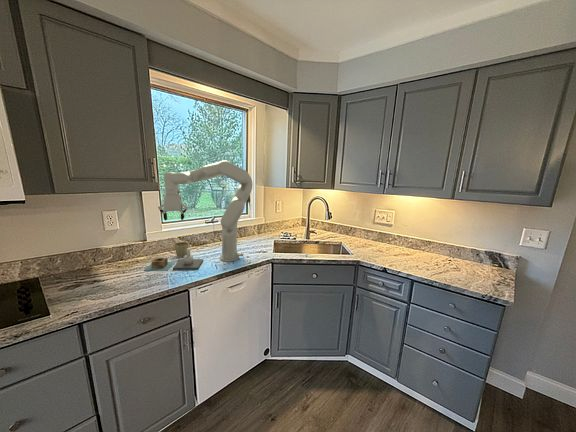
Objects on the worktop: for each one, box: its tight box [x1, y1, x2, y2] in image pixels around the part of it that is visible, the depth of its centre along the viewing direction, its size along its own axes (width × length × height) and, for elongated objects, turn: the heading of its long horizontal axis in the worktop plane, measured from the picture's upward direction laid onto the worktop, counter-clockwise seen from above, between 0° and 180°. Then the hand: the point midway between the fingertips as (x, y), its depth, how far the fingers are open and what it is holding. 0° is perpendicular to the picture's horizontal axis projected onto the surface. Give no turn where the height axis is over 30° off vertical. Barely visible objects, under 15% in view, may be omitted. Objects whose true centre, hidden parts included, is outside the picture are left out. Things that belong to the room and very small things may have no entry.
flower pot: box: [173, 241, 189, 259], centre depth 162 cm, size 9×9×9 cm
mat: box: [143, 261, 176, 272], centre depth 143 cm, size 13×12×1 cm
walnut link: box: [150, 257, 169, 268], centre depth 143 cm, size 7×7×4 cm
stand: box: [172, 248, 204, 271], centre depth 146 cm, size 14×14×11 cm
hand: (174, 219), depth 152 cm, fingers open, 9 cm apart
